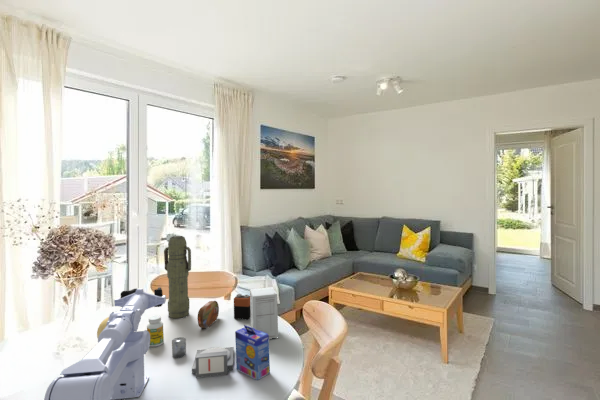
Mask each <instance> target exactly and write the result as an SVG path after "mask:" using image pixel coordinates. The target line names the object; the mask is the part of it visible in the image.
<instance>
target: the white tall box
mask: <svg viewBox="0 0 600 400" xmlns="http://www.w3.org/2000/svg"><path fill="white" fill-rule="evenodd" d="M249 296H250V310H251V317H250V327H252V328H255V330H259V331H262V332H265V333H267V334H268V335H269V340H273V339H272V338H276V339H278V338H279V317H278V315H279V313H278V293H277V291H276V290H275V289H274V287H273V286H271V287H262V288H251V289H249ZM277 337H278V338H277Z"/></svg>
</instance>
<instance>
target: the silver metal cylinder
mask: <svg viewBox="0 0 600 400" xmlns="http://www.w3.org/2000/svg"><path fill="white" fill-rule="evenodd" d="M171 353H172V355H171V357H172V358H174V359H180V358H184V357H186V355H187V338H186V337H183V336H180V337H176V338H173V339H172V340H171Z"/></svg>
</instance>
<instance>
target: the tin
mask: <svg viewBox="0 0 600 400" xmlns="http://www.w3.org/2000/svg"><path fill="white" fill-rule="evenodd" d="M219 306H220V305H219V303H218V301H217V300H209V301H208V302H206V303H205V304H204V305H203V306H201V307H200V309H199V310H198V312H197V326H198V327H199V328H201V329H208V328H210V327H211V326H212V324H214V323H215V322H216V321H217V319H218V317H219V312H220V308H219Z"/></svg>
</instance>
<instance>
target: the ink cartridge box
mask: <svg viewBox="0 0 600 400" xmlns="http://www.w3.org/2000/svg"><path fill="white" fill-rule="evenodd" d="M243 326H244V327H241V328H240V329H237V330H235V331H234V332H235V333H234V335H235V336H234V337H235V340H234V341H235V364H236V365H235V366H236V369H235V370H237V371H238V372H241V373H243V374H244V375H246V376H248V377H250V378H251V379H254V380H255V381H260V380H261V379H262V377H263V378H264V377H266V376H268V375H270V373H271V368H270V367H271V366H270V339H269V335H268V334H267V333H265V332H262V331H259V330H255V328H252V327H251V326H249V325H245V324H244V325H243ZM267 374H268V375H267ZM265 375H266V376H265Z"/></svg>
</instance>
